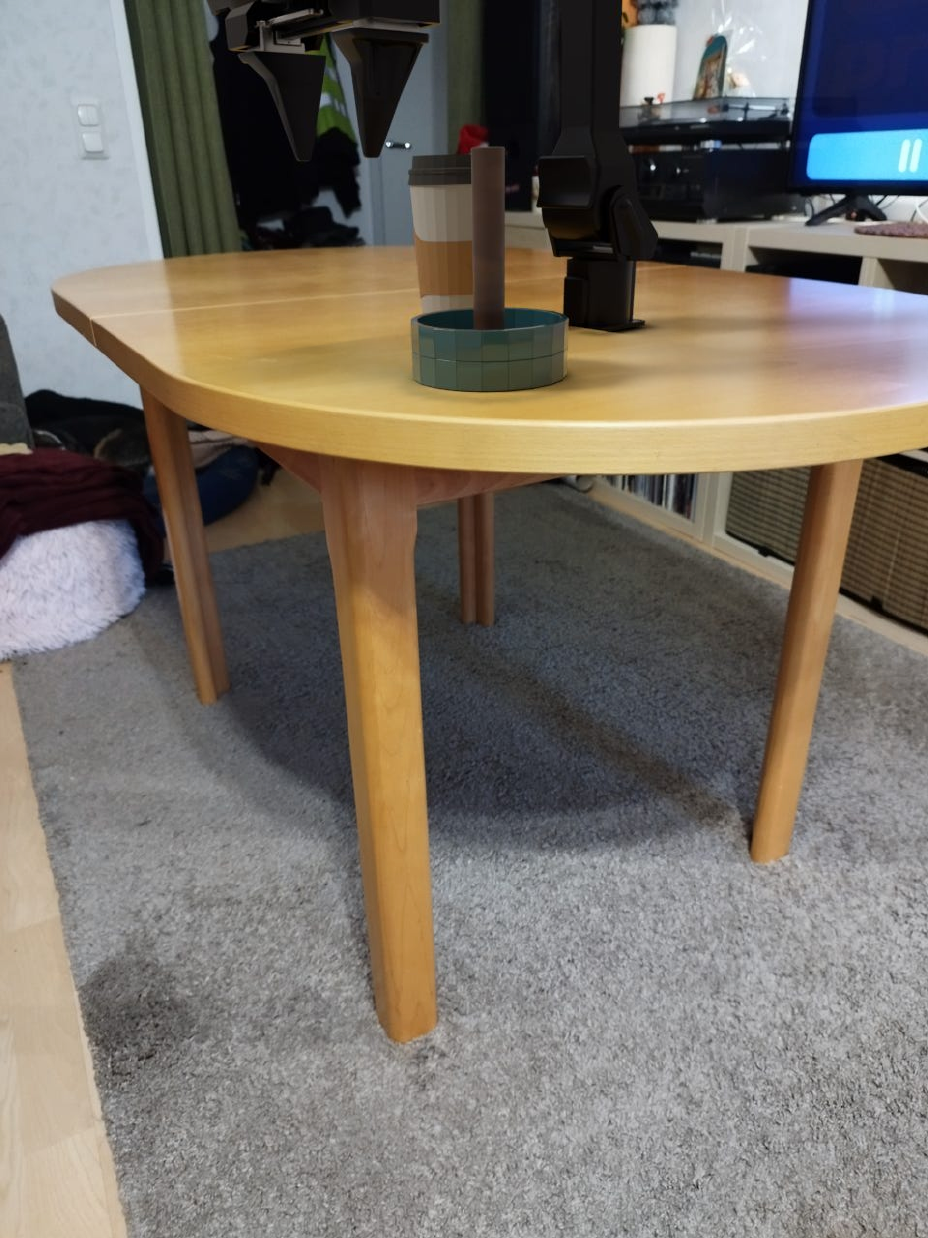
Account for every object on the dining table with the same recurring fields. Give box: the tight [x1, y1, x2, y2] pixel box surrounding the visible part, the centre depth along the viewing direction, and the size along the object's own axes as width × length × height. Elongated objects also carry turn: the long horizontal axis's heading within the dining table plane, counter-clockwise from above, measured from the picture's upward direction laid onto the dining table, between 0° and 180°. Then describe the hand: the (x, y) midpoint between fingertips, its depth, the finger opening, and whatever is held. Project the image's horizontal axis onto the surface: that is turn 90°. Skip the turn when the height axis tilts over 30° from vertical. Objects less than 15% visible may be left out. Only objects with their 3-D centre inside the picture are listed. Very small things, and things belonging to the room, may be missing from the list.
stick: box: [470, 146, 506, 330], centre depth 61 cm, size 4×4×14 cm
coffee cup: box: [407, 153, 473, 314], centre depth 82 cm, size 8×8×15 cm
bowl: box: [410, 306, 569, 392], centre depth 63 cm, size 11×11×4 cm
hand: (335, 159), depth 64 cm, fingers open, 9 cm apart
